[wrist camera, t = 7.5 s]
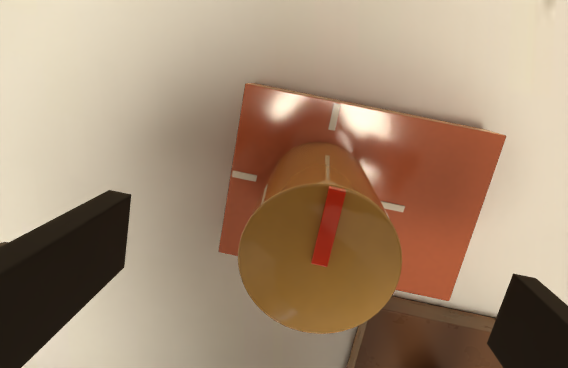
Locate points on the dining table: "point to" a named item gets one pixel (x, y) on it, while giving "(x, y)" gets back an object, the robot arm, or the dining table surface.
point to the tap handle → (319, 243)
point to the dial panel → (374, 173)
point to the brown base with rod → (423, 338)
